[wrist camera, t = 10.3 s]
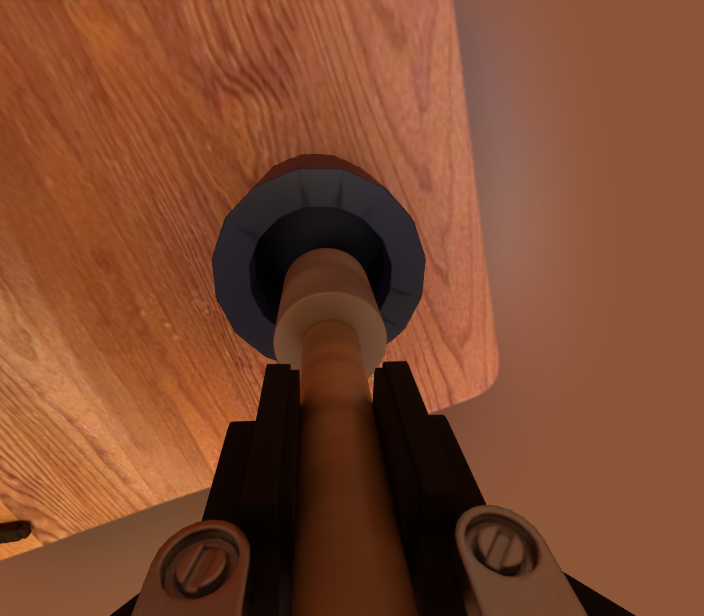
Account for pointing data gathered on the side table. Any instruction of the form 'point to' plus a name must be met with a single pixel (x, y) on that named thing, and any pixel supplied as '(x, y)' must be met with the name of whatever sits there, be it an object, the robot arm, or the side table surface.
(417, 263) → the dark hollow tube
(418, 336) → the side table surface
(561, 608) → the robot arm
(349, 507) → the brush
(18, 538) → the cleaver
